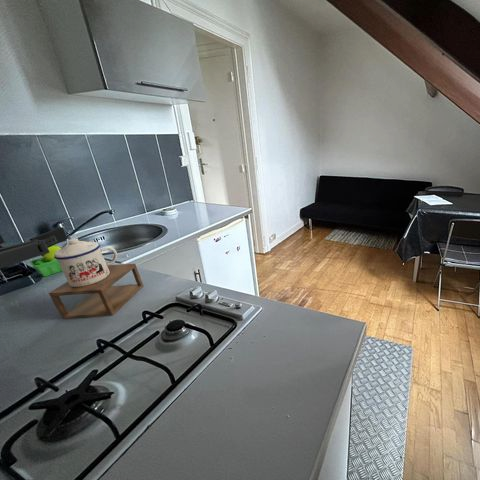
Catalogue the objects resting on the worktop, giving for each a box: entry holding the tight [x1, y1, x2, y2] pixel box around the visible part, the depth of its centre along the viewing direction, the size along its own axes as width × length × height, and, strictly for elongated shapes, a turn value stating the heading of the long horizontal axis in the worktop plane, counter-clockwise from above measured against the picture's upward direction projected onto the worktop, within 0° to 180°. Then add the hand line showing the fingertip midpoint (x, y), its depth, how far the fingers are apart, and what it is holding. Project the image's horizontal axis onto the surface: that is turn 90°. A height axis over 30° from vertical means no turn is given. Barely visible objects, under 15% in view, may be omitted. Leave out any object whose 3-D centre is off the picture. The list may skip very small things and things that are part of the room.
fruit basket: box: [29, 244, 63, 278], centre depth 93 cm, size 11×9×11 cm
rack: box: [48, 263, 144, 320], centre depth 73 cm, size 13×14×8 cm
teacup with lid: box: [54, 237, 118, 287], centre depth 69 cm, size 12×9×12 cm
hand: (32, 234), depth 56 cm, fingers open, 13 cm apart
